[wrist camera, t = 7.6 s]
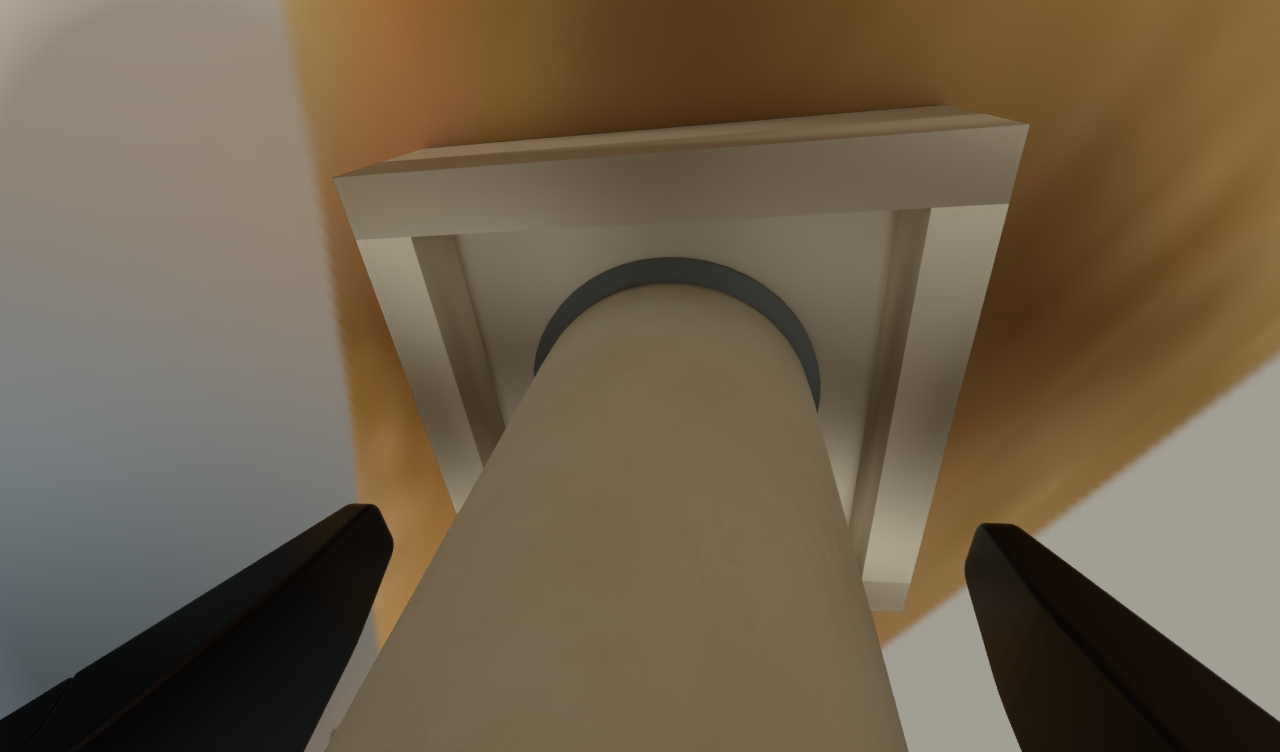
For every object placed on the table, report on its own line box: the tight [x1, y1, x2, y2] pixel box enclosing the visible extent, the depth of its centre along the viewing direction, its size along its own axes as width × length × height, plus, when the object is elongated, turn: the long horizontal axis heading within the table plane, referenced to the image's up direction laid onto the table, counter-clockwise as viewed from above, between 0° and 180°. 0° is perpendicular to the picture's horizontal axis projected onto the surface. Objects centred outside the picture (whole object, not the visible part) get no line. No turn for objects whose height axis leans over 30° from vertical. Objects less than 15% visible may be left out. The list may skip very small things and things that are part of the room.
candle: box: [324, 283, 908, 752], centre depth 7 cm, size 6×6×10 cm
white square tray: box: [333, 105, 1030, 612], centre depth 11 cm, size 10×10×3 cm
